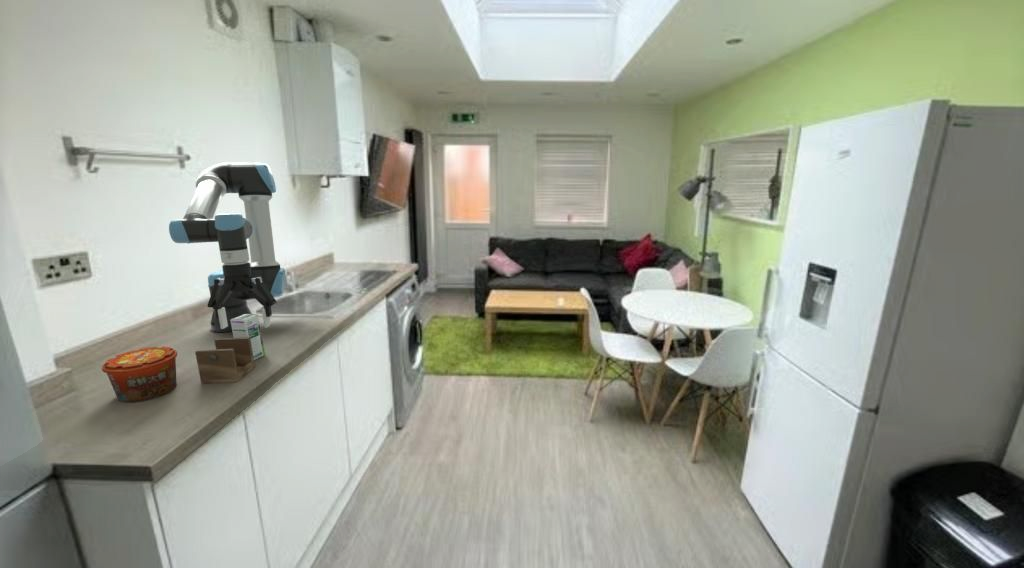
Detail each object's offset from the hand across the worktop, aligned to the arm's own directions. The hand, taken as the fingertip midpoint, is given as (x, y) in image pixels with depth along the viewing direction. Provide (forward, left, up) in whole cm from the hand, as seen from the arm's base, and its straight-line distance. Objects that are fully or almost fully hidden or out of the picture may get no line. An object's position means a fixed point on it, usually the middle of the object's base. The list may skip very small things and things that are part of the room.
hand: (246, 327), depth 141 cm
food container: (+22, -17, -11) cm, 30 cm away
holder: (+13, 0, -11) cm, 17 cm away
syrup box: (0, 0, -11) cm, 11 cm away
